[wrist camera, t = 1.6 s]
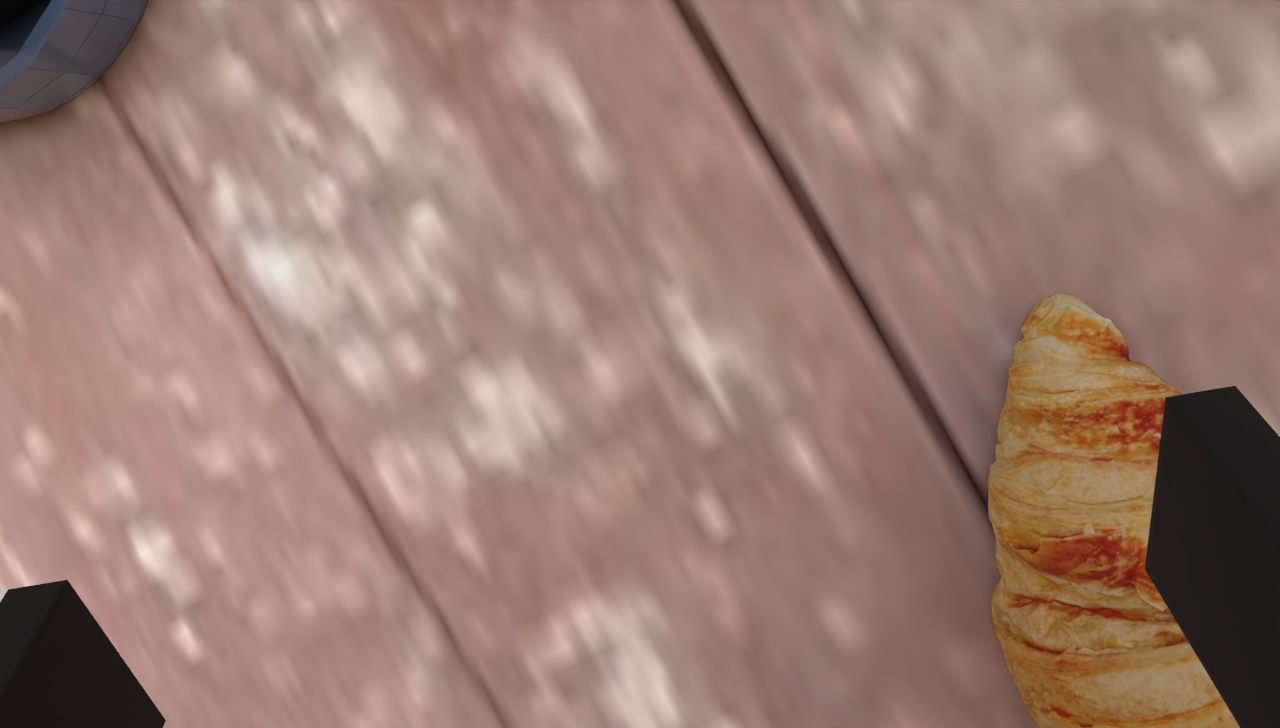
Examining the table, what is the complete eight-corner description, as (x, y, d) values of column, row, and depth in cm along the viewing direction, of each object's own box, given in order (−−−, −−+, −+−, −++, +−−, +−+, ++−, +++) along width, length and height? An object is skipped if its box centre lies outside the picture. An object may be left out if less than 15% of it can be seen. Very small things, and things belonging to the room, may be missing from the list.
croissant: (943, 311, 36) (825, 392, 30) (1261, 209, 29) (1184, 289, 23) (1173, 858, 37) (1101, 1032, 32) (1531, 889, 30) (1520, 1120, 25)
